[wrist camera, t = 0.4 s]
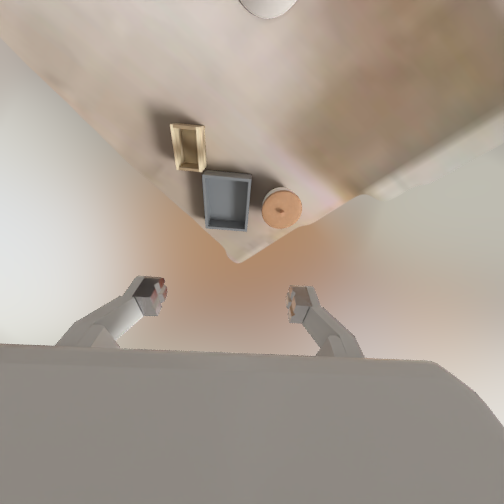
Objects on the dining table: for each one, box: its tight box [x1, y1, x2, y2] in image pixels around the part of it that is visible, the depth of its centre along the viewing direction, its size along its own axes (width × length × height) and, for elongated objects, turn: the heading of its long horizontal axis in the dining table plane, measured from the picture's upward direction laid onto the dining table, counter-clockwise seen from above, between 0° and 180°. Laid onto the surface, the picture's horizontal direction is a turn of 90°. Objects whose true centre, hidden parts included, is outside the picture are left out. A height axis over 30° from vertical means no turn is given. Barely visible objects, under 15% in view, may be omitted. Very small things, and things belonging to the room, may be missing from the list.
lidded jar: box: [262, 187, 302, 229], centre depth 50 cm, size 11×11×9 cm
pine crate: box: [170, 123, 207, 172], centre depth 43 cm, size 9×6×6 cm, turn 175°
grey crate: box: [202, 170, 251, 232], centre depth 52 cm, size 15×12×5 cm
